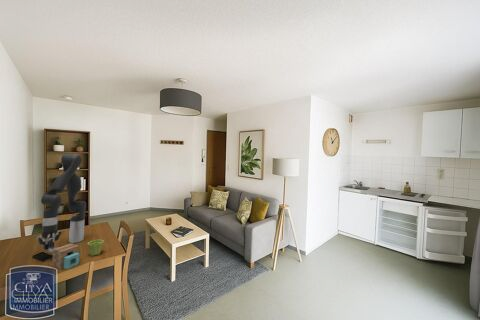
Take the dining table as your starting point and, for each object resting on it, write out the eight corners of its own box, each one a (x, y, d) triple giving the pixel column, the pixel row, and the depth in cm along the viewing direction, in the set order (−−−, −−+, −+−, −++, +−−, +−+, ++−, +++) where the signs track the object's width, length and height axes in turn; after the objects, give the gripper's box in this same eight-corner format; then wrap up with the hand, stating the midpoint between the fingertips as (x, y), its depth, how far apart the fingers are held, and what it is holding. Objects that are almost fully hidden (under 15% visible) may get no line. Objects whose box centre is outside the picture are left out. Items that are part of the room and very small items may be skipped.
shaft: (45, 250, 134) (45, 241, 134) (49, 248, 136) (50, 239, 136) (64, 256, 127) (65, 246, 127) (69, 254, 129) (69, 245, 129)
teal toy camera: (63, 268, 123) (64, 257, 123) (75, 263, 130) (76, 252, 130) (66, 269, 122) (67, 258, 122) (78, 264, 129) (79, 253, 129)
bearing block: (52, 266, 125) (53, 249, 125) (70, 259, 134) (71, 243, 134) (60, 269, 122) (61, 251, 122) (77, 261, 132) (78, 245, 132)
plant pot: (92, 250, 147) (93, 239, 148) (105, 251, 148) (106, 239, 148) (83, 256, 138) (84, 244, 138) (97, 257, 139) (98, 244, 139)
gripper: (58, 220, 142) (57, 243, 142) (33, 225, 129) (31, 251, 129) (65, 221, 140) (64, 245, 140) (40, 227, 127) (38, 254, 126)
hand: (48, 248), depth 134 cm, fingers closed on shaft, 2 cm apart
